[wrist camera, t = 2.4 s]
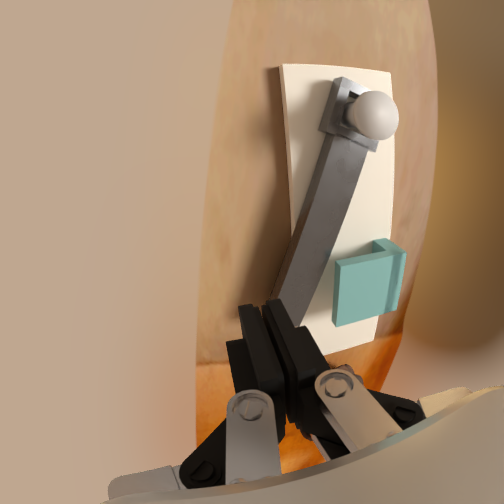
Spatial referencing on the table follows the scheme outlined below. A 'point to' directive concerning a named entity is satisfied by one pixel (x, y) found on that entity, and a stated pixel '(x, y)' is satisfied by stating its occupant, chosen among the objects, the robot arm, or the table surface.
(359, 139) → the swing link
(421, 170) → the table surface
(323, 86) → the base plank
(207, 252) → the table surface
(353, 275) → the keeper bracket
